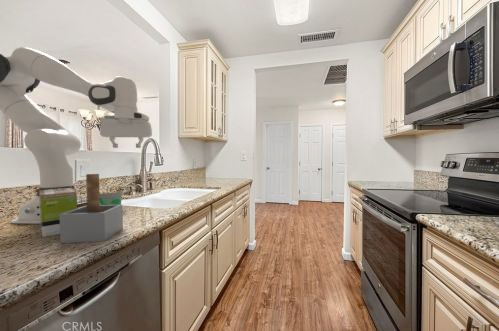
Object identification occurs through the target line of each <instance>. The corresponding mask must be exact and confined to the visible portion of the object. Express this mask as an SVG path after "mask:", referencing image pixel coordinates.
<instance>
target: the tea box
mask: <svg viewBox="0 0 499 331" xmlns="http://www.w3.org/2000/svg"><path fill="white" fill-rule="evenodd" d="M77 194H78V193H77V191H76V190H75V191H74V190H73V189H72V188H59V189H48V190H40V191H39V199H40V217H41V224H40V226H41V227H40V228H41V236H42V237H43V238H45V237H50V236H55V235H56V236H57V235H60V216H59V214H62V213H65V212H68V211H71V210H74V209H77V208H78V197H77Z"/></svg>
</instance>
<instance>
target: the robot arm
mask: <svg viewBox="0 0 499 331" xmlns="http://www.w3.org/2000/svg"><path fill="white" fill-rule="evenodd" d="M41 82H43V83H44V84H48V85H51V86H54V87H57V88H60V89H65V90H67V91H68V90H69V91H73V92H76V93H78V94H81V95H84V96H86V97H87V98H88V99H89V100H90V102H91V103H93V104H94V105H95V106H97V107H99V108H103V109H105V110H107V111H108V112H111V113H113V114H114V115H102V117H100V119H99V120H100V121H99V122H100V127H99V134H100V136H101V137H103V138H108V139H109V141H110V142H111V144H112V148H113V149H118V148H119V143H117V142H116V141H115V140H116V138H137V139H138V142H137V143H135V148H137V149H139V148H140V149H141V147H142V144H143V141H144V138H151V137H152V136H153V131H152V130H153V129H152V125H151V122H149V121H150V116H148V115H146V114H144V113H142V112H139V110H138V106H137V104H138V103H137V102H138V92H137V91H138V90H137V85H136V83H135V82H134V81H133V80H132V79H130V78H129V77H125V76H122V75H121V76H120V75H119V76H118V75H117V76H115V77H114V78H113V79H111V80H109V81H105V82H102V83H99V82H97V83H92V82H90V81H89V80H86V79H85V78H84V77H82V76H81V75H80V74H78V73H76V72H75V71H74V70H73V69H71V68H70V67H69V66H67V65H66V64H65V63H63V62H61V61H60V60H58V59H56V58H54V57H53V56H51V55H49V54H46V53H44V52H41V51H39V50H36V49H33V48H30V47H24V46H22V47H18V48H17V47H16V48H15V49H14V50H13V51H12V53H11V55H10V56H4V55H3V54H1V53H0V111H1V112H2V114H4V115H5V117H7V119H9V120H10V121H11V122H12V123H13V124H14V125H15V126H16V127H17V128H18V129H19V130H21V131H22V132H25V133H26V134H25V136H24V140H23V142H24V146H25V147H26V149H28V150H29V151H30V152H31V154H32V155H33V156H34V159H35V161H36V163H37V166H38V170H39V182H40V184H39V185H40V187H38V188H37V189H33V193H36V194H35V197H33V198H32V199H30V200H29V201H27V202H25V203H24V204H23V205H21V206H20V208H19V210H18V216H17V217H16V218H13V219H11V220H10V224H34V225H35V224H37V225H38V224H40V225H41V217H40V199H39V191H40V190H48V189H59V188H72V189H73V190H74V191H76V190H75V185H74V175H73V174H74V173H73V172H74V170H73V167H72V166H71V165H70V164H69V161H68V158H67V156H70V155H73V154H76V153H77V152H79V151H80V149H81V146H82V144H81V140H80V139H79V138H78V137H77V136H76V135H74V134H73V133H71V132H70V131H69V130H67V129H66V128H65V127H64V126H62V125H61V124H60V123H58V122H57V121H56V120H54V119H53V118H51V117H50V116H49V115H48V114H46V112H45V111H43V110H42V109H41V108H40V107H39V106H38V105H37V104H36V103H35V102H34V101H33V100H32V99H31V98H30V97H29V96H28V95H27V94H29V93H32V92H33V91H34V89H36V88H37V87H38V86H39V84H41Z"/></svg>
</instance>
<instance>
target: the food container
mask: <svg viewBox="0 0 499 331" xmlns="http://www.w3.org/2000/svg"><path fill="white" fill-rule="evenodd" d="M123 195H124V194H123V190H117V191H116V192H107V193H100V205H122V196H123Z"/></svg>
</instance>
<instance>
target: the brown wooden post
mask: <svg viewBox="0 0 499 331" xmlns="http://www.w3.org/2000/svg"><path fill="white" fill-rule="evenodd" d="M85 175H86V177H85V178H86V179H85V181H86V182H85V183H86V206H87V213H95V212H100V194H101V193H100V173H85Z"/></svg>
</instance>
